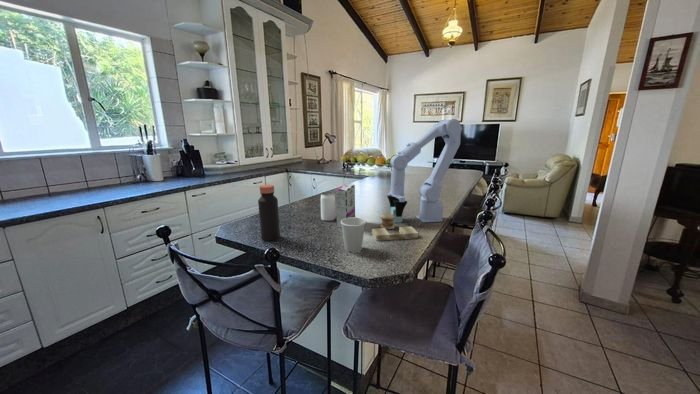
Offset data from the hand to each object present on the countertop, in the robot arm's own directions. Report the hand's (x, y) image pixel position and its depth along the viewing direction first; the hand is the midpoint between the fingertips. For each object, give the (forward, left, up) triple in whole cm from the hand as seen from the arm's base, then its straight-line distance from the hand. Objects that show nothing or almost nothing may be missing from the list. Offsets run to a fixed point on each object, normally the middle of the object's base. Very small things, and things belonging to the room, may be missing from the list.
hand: (396, 213), depth 121 cm
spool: (+6, +7, -3) cm, 10 cm away
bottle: (+52, +12, -4) cm, 54 cm away
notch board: (+6, +17, -3) cm, 18 cm away
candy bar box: (+22, +1, -4) cm, 23 cm away
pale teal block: (0, 0, -3) cm, 3 cm away
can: (+29, -7, -4) cm, 31 cm away
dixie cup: (+23, +26, -4) cm, 35 cm away
